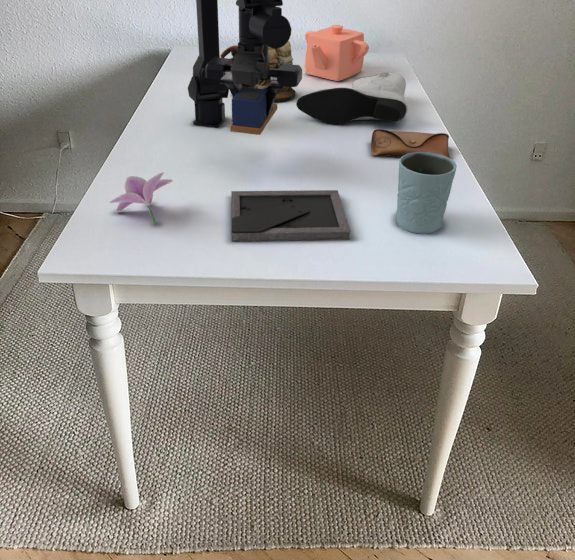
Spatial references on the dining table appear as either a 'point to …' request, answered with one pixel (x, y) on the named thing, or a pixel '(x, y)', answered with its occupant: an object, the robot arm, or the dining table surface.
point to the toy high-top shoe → (250, 111)
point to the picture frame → (288, 215)
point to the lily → (140, 191)
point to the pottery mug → (231, 49)
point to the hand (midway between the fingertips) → (254, 113)
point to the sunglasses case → (408, 143)
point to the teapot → (335, 52)
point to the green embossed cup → (423, 191)
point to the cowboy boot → (358, 101)
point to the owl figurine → (276, 61)
